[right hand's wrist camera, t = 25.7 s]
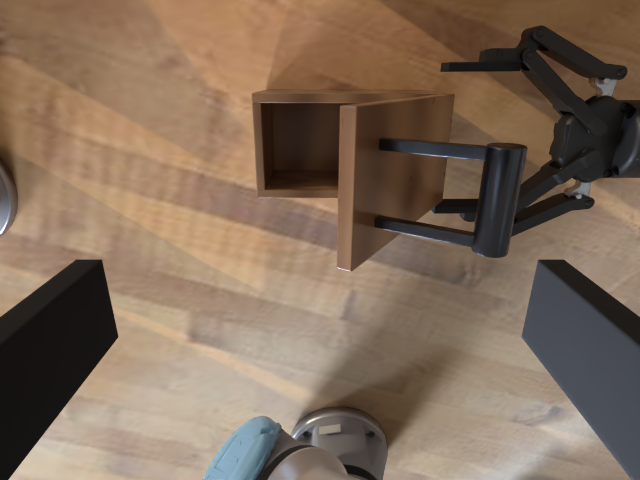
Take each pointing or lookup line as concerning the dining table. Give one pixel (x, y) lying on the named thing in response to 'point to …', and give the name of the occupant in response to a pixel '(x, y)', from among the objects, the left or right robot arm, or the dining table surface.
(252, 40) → the dining table surface
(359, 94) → the chest
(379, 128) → the door
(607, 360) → the right robot arm
